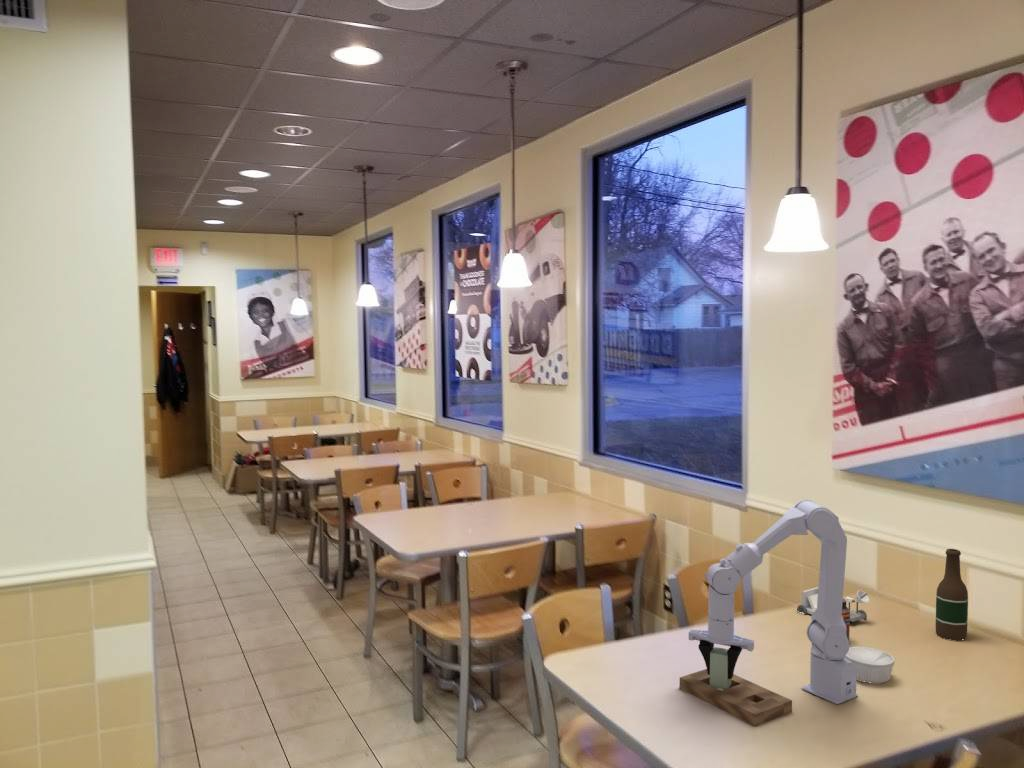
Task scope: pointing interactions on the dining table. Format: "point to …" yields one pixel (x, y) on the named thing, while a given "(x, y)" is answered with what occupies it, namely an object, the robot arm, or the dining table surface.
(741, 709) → the socket board
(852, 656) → the ramekin
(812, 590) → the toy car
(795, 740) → the dining table surface
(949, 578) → the beer bottle
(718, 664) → the peg
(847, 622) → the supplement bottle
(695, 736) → the dining table surface
